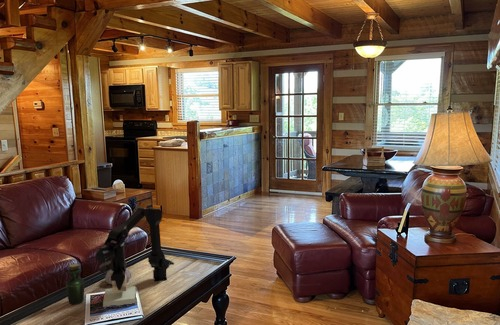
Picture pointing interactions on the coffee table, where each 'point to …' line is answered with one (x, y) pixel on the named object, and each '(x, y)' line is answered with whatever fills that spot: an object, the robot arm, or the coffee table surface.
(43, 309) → the coffee table surface
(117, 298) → the sage base block
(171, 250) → the coffee table surface
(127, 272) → the sea urchin shell
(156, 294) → the coffee table surface
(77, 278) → the potion bottle
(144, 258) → the coffee table surface
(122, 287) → the birch cube
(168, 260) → the decorative butterfly
